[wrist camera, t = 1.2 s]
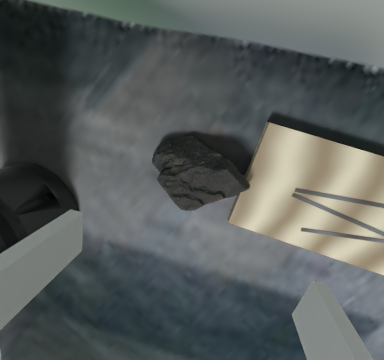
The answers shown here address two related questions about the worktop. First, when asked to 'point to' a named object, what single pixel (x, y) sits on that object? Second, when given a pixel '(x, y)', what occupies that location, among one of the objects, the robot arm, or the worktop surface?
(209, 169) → the rock
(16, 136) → the worktop surface
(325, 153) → the board
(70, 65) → the worktop surface
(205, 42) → the worktop surface
